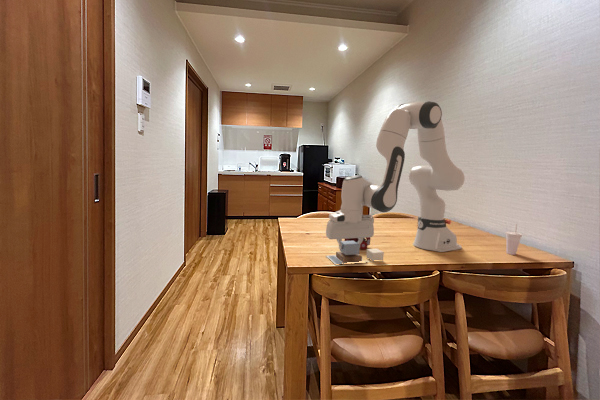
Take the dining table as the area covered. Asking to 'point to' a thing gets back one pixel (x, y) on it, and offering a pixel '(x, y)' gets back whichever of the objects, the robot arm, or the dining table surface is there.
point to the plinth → (348, 257)
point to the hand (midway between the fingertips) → (349, 248)
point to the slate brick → (350, 247)
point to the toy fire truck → (363, 244)
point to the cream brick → (375, 254)
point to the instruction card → (334, 259)
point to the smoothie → (512, 241)
